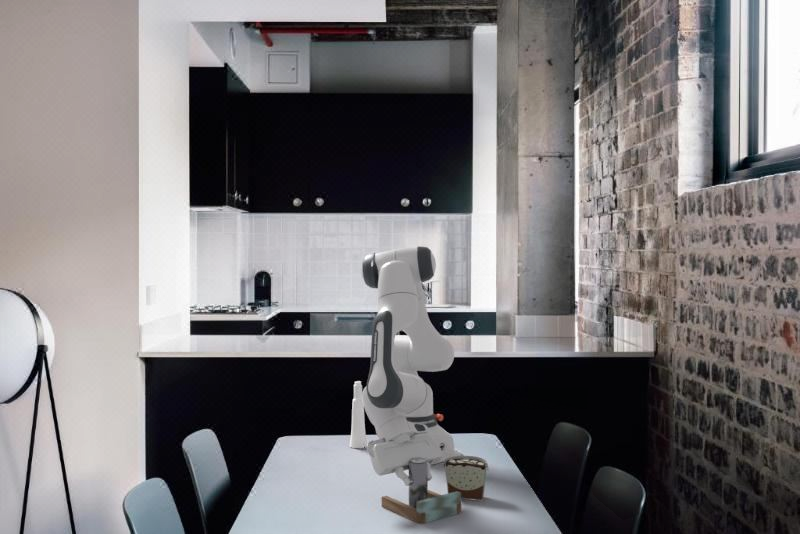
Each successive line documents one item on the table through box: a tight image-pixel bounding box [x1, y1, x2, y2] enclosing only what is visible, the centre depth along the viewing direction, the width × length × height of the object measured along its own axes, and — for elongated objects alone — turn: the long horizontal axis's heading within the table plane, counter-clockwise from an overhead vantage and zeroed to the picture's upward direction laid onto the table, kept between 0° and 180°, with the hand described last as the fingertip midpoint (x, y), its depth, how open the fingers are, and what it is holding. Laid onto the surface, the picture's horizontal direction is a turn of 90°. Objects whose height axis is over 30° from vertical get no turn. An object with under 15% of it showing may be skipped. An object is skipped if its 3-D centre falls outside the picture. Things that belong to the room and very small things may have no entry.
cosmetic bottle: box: [348, 380, 368, 449], centre depth 252 cm, size 6×6×22 cm
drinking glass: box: [408, 457, 429, 508], centre depth 189 cm, size 5×5×12 cm
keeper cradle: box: [381, 489, 462, 525], centre depth 188 cm, size 13×16×5 cm
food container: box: [442, 455, 489, 501], centre depth 199 cm, size 12×6×10 cm, turn 71°
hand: (419, 482), depth 189 cm, fingers closed on drinking glass, 5 cm apart
